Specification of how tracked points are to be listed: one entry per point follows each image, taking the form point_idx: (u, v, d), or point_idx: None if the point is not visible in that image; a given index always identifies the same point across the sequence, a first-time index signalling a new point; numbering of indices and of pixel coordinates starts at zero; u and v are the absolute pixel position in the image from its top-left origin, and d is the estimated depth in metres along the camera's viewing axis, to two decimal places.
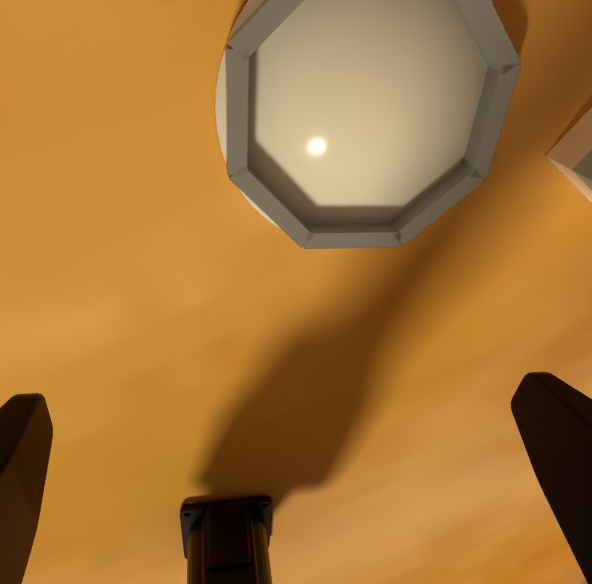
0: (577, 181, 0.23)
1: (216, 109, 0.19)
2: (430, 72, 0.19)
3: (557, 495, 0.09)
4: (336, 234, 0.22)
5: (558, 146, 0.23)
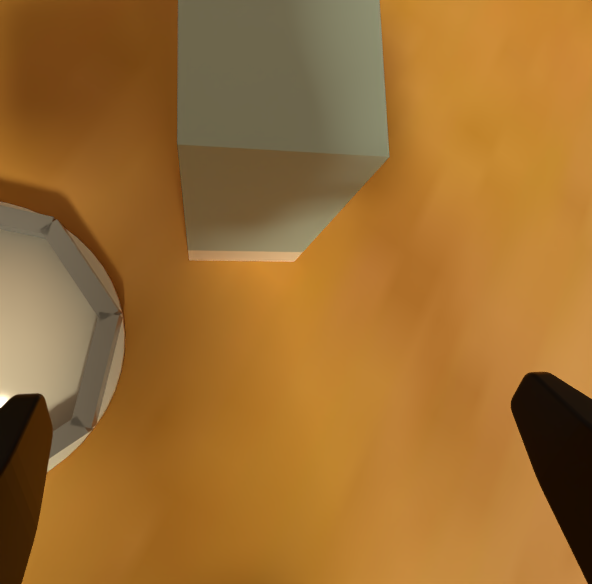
0: (223, 255, 0.21)
1: None
2: None
3: (557, 495, 0.09)
4: None
5: None
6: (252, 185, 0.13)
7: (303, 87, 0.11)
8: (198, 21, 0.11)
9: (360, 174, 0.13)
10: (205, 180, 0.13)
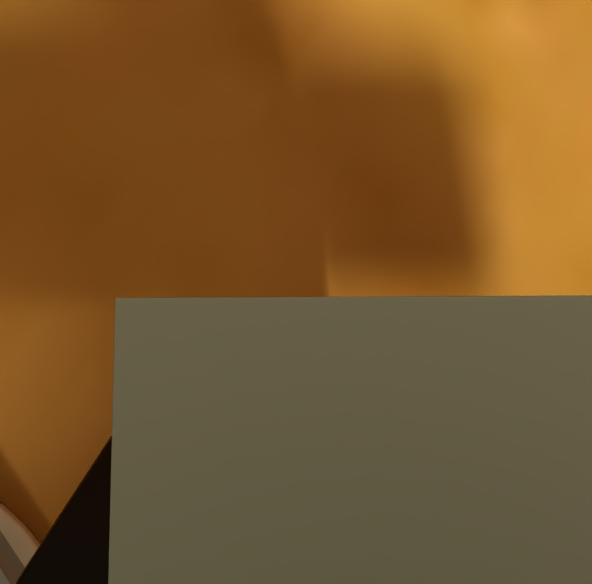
0: None
1: None
2: None
3: None
4: None
5: None
6: None
7: None
8: None
9: None
10: None
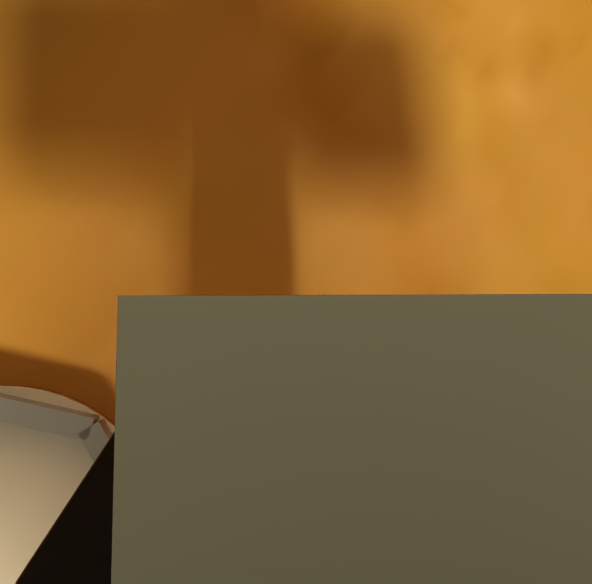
0: None
1: None
2: (26, 480, 0.17)
3: None
4: None
5: None
6: None
7: None
8: None
9: None
10: None
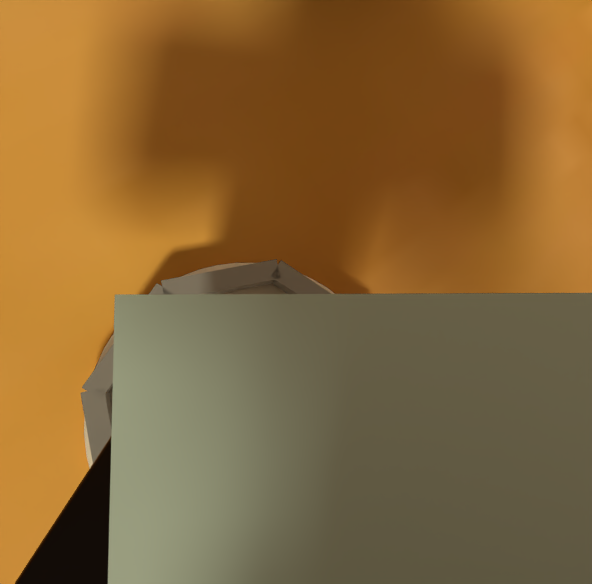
0: None
1: (87, 454, 0.18)
2: None
3: None
4: None
5: None
6: None
7: None
8: None
9: None
10: None
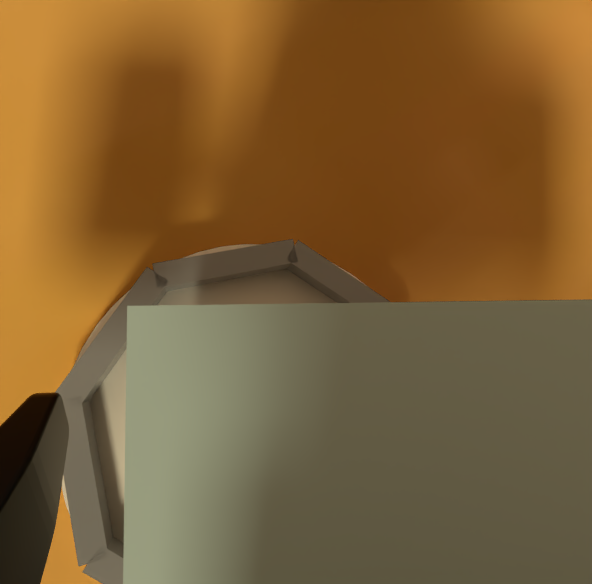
0: None
1: None
2: None
3: None
4: None
5: None
6: None
7: None
8: (186, 545, 0.04)
9: None
10: None
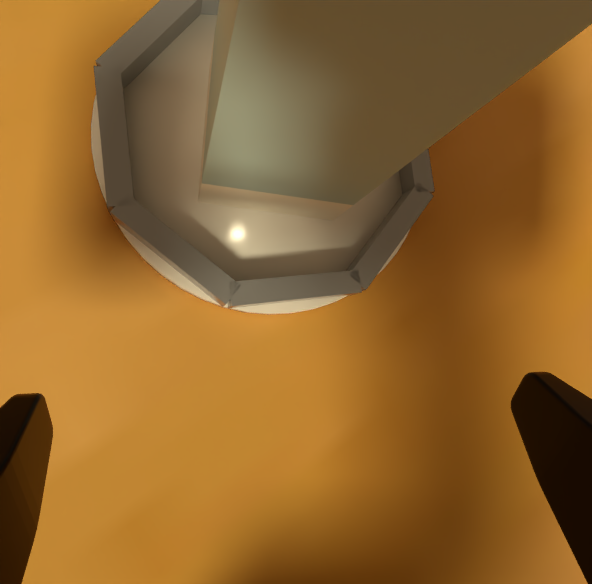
0: (246, 198, 0.16)
1: (92, 148, 0.16)
2: None
3: (557, 495, 0.09)
4: (271, 280, 0.16)
5: (199, 182, 0.16)
6: (353, 41, 0.08)
7: None
8: None
9: (549, 36, 0.07)
10: (282, 14, 0.07)
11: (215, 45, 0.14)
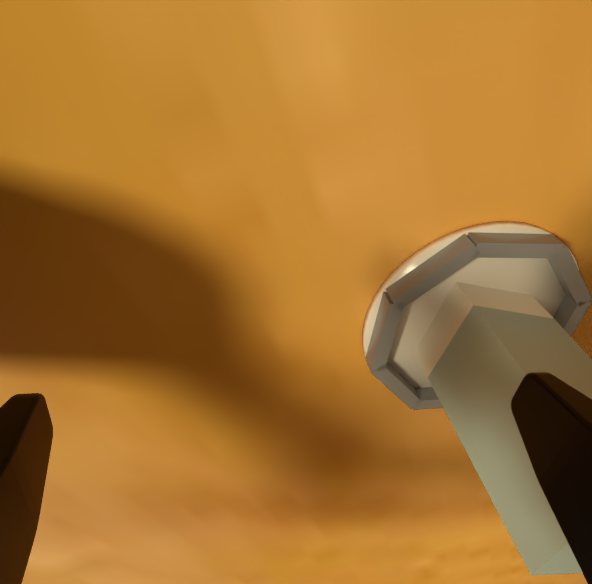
0: (451, 319, 0.24)
1: (513, 226, 0.23)
2: None
3: (557, 495, 0.09)
4: (396, 325, 0.24)
5: (467, 286, 0.24)
6: None
7: None
8: None
9: (519, 539, 0.18)
10: None
11: (550, 334, 0.23)
